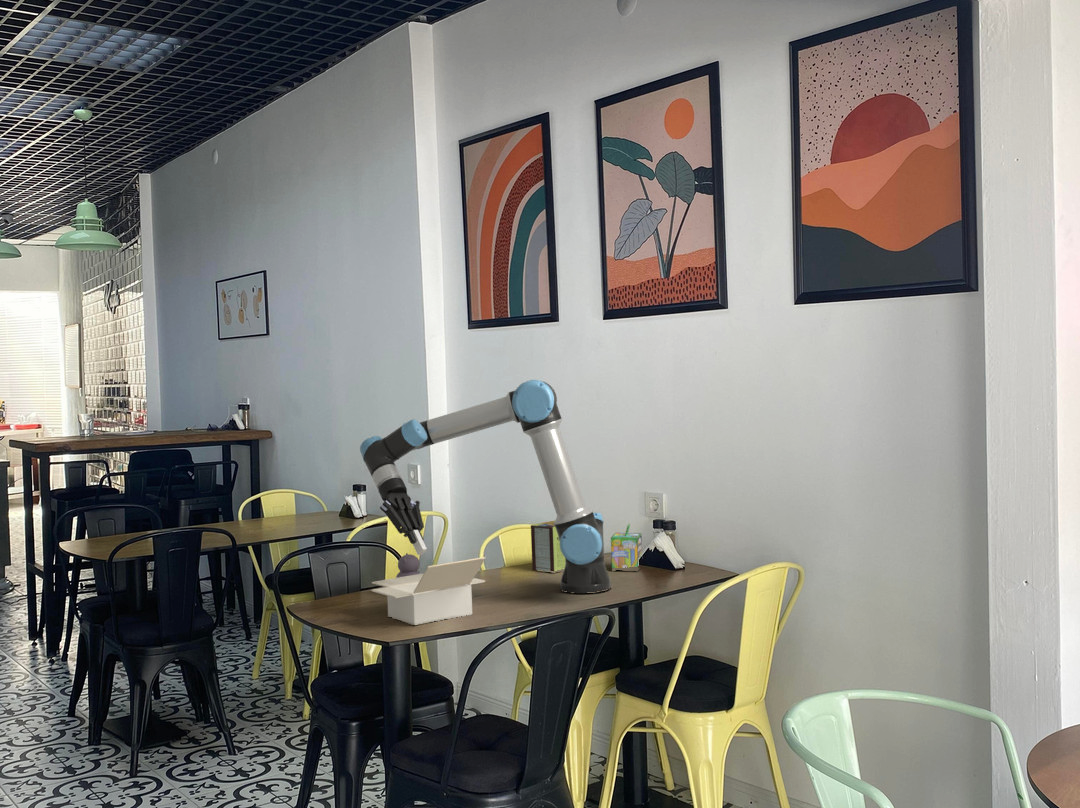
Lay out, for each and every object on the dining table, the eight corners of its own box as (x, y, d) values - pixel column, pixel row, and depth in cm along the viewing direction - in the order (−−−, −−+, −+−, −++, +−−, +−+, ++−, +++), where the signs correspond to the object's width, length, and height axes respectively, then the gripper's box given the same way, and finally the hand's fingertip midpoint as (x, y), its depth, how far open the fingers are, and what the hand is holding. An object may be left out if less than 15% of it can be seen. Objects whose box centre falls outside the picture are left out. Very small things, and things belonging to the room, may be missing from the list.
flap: (428, 566, 244) (428, 567, 244) (485, 556, 255) (485, 558, 255) (413, 592, 250) (413, 593, 250) (469, 582, 261) (470, 583, 261)
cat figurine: (420, 596, 287) (419, 556, 286) (394, 597, 287) (392, 557, 287) (424, 590, 295) (423, 551, 295) (398, 591, 295) (397, 552, 295)
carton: (355, 615, 265) (354, 584, 265) (442, 598, 282) (441, 570, 282) (397, 629, 247) (396, 597, 247) (487, 611, 264) (486, 580, 264)
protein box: (585, 566, 326) (583, 521, 326) (554, 574, 315) (552, 526, 315) (562, 563, 333) (560, 519, 333) (531, 570, 322) (529, 524, 322)
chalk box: (616, 566, 324) (614, 522, 324) (643, 567, 322) (641, 522, 322) (610, 571, 315) (609, 526, 315) (638, 572, 313) (637, 526, 313)
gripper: (401, 492, 282) (433, 558, 271) (365, 492, 273) (396, 561, 261) (414, 476, 279) (447, 542, 267) (377, 476, 269) (410, 545, 258)
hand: (422, 552), depth 264 cm, fingers closed
